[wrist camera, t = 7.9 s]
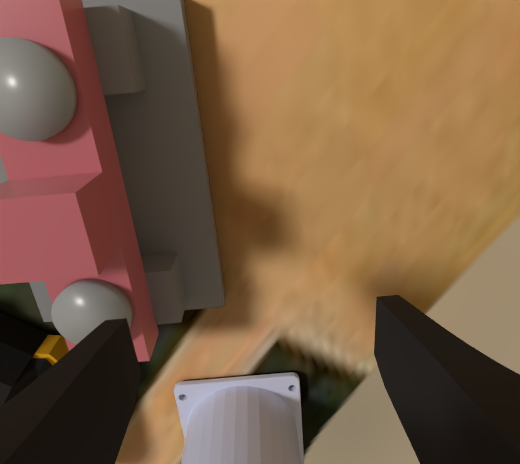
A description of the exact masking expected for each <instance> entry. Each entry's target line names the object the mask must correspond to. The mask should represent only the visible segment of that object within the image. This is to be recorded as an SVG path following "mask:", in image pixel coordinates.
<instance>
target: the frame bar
mask: <svg viewBox="0 0 520 464" xmlns="http://www.w3.org/2000/svg"><path fill="white" fill-rule="evenodd" d="M0 157H1V160H2V162H3V165H4V168H5V171H6V174H7V177H8V179H9V180H8V181H6V182H4V183H2V184H0V284H11V283H22V282H34V281H44V282H45V284H46V287H47V290H48V293H49V296H50V299H51V301H52V304H53V305H52V310H51V315H52V320H53V323H54V325H55V327H56V329H57V330H58V331H59V333H60V334H61V335H62V336H63V337H64V338H65V341H66V344H67V347H68V350H69V351H70V350H71V349H72V348H73V347H75V346H76V345H77V344H78V343H79V342H80V341H81V340H82V339H84V338H85V337H86V336H87V335H88V334H89V333H90V332H92V331H93V330H94V329H95V328H96V327H97V326H99V325H100V324H101V323H102V322H104V321H105V320H112V319H124V318H127V322H128V326H129V329H130V333H131V337H132V341H133V344H134V348H135V352H136V356H137V359H138V362H141V361H150V358H151V355H152V352H153V349H154V346H155V343H156V340H157V337H158V334H159V333H158V329H157V324H156V320H155V316H154V311H153V307H152V302H151V298H150V294H149V289H148V285H147V281H146V276H145V272H144V268H143V263H142V259H141V255H140V250H139V246H138V242H137V237H136V233H135V229H134V224H133V220H132V216H131V211H130V207H129V203H128V198H127V194H126V190H125V185H124V181H123V177H122V172H121V168H120V164H119V159H118V155H117V151H116V146H115V142H114V138H113V133H112V129H111V125H110V120H109V116H108V111H107V107H106V103H105V98H104V94H103V90H102V85H101V81H100V77H99V72H98V68H97V64H96V59H95V55H94V51H93V46H92V42H91V38H90V33H89V29H88V25H87V20H86V16H85V12H84V7H83V3H82V0H0Z"/></svg>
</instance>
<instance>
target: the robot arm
mask: <svg viewBox="0 0 520 464" xmlns="http://www.w3.org/2000/svg"><path fill="white" fill-rule="evenodd" d="M374 354H375V358H376V361H377V364H378V368H379V371H380V374H381V377H382V379H383V382H384V386H385V388H386V390H387V393H388V395H389V397H390V399H391V401H392V404H393V406H394V408H395V410H396V412H397V414H398V417H399V419H400V421H401V423H402V425H403V427H404V429H405V432H406V434H407V436H408V438H409V440H410V442H411V445H412V447H413V449H414V451H415V453H416V455H417V458H418V460H419V462H420V464H520V375H519V374H517V373H515V372H514V371H512V370H510V369H508V368H506V367H504V366H503V365H501V364H499V363H498V362H496V361H494V360H493V359H491V358H489V357H488V356H486V355H484V354H483V353H481V352H480V351H478V350H476V349H475V348H473V347H471V346H470V345H468V344H467V343H465V342H464V341H462V340H461V339H459V338H458V337H456V336H455V335H453V334H452V333H450V332H449V331H447V330H446V329H445V328H443V327H442V326H440V325H439V324H438V323H436V322H435V321H433V320H432V319H431V318H429V317H428V316H427V315H425V314H424V313H422V312H421V311H420V310H418V309H417V308H416V307H414V306H413V305H412V304H410V303H409V302H407V301H406V300H405V299H403V298H402V297H400V296H399V295H393V296H382V297H377V303H376V325H375V347H374ZM140 377H141V371H140V367H139V363H138V359H137V356H136V352H135V348H134V344H133V341H132V337H131V333H130V329H129V326H128V322H127V318H124V319H112V320H105V321H104V322H102V323H101V324H100V325H99V326H97V327H96V328H95V329H94V330H93V331H92V332H90V333H89V334H88V335H87V336H86V337H85V338H84V339H82V340H81V341H80V342H79V343H78V344H77V345H76V346H75V347H73V348H72V349H71V350H70V351H69V352H68V353H67V354H65V355H64V356H63V357H62V358H61V359H60V360H58V361H57V362H56V363H55V364H54V365H53V366H52V367H50V368H49V369H48V370H47V371H45V372H44V373H43V374H42V375H40V376H39V377H38V378H37V379H36V380H34V381H33V382H32V383H31V384H29V385H28V386H27V387H26V388H24V389H23V390H22V391H21V392H19V393H18V394H17V395H16V396H14V397H13V398H12V399H10V400H9V401H8V402H6V403H5V404H4V405H2V406H1V407H0V464H115V461H116V458H117V456H118V453H119V450H120V447H121V444H122V441H123V439H124V436H125V433H126V430H127V427H128V424H129V421H130V418H131V415H132V412H133V409H134V406H135V401H136V397H137V392H138V387H139V382H140ZM291 385H294V386H293V387H290V386H291ZM174 394H175V399H176V403H177V407H178V412H179V416H180V421H181V425H182V429H183V434H184V438H185V444H184V450H183V457H182V463H181V464H304V452H303V434H302V415H301V397H300V380H299V376H298V375H297V374H296V373H293V372H289V373H277V374H265V375H253V376H241V377H230V378H218V379H206V380H194V381H182V382H178V383H176V385H175V387H174ZM182 394H183V395H185V396H182Z"/></svg>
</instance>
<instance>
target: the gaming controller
mask: <svg viewBox="0 0 520 464" xmlns="http://www.w3.org/2000/svg"><path fill="white" fill-rule="evenodd" d="M68 352H69V350H68V347H67V344H66V341H65V339H64V338H63V337H62V336H61V335H49V334H48V333H46V332H43V331H41V330H39V329H37V328H34V327H32V326H30V325H27V324H25V323H23V322H21V321H18V320H16V319H14V318H12V317H9V316H7V315H5V314H3V313H0V407H1V406H2V405H4V404H5V403H6V402H8V401H9V400H10V399H12V398H13V397H14V396H16V395H17V394H18V393H19V392H21V391H22V390H23V389H24V388H26V387H27V386H28V385H29V384H31V383H32V382H33V381H34V380H36V379H37V378H38V377H39V376H40V375H42V374H43V373H44V372H45V371H47V370H48V369H49V368H50V367H52V366H53V365H54V364H55V363H56V362H57V361H58V360H60V359H61V358H62V357H63V356H64V355H65V354H67V353H68Z"/></svg>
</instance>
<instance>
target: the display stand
mask: <svg viewBox="0 0 520 464" xmlns="http://www.w3.org/2000/svg"><path fill="white" fill-rule="evenodd" d="M82 3H83V7H84V12H85V16H86V20H87V25H88V29H89V33H90V38H91V42H92V46H93V51H94V55H95V59H96V64H97V68H98V72H99V77H100V81H101V85H102V90H103V94H104V98H105V103H106V107H107V111H108V116H109V120H110V125H111V129H112V133H113V138H114V142H115V146H116V151H117V155H118V159H119V164H120V168H121V172H122V177H123V181H124V185H125V190H126V194H127V198H128V203H129V207H130V211H131V216H132V220H133V224H134V229H135V233H136V237H137V242H138V246H139V250H140V255H141V259H142V263H143V268H144V272H145V276H146V281H147V285H148V289H149V294H150V298H151V302H152V307H153V311H154V316H155V320H156V324H169V323H181V322H182V318H183V314H184V310H192V309H204V308H215V307H224V301H225V291H224V283H223V276H222V269H221V262H220V255H219V247H218V240H217V233H216V226H215V219H214V212H213V204H212V197H211V190H210V183H209V176H208V168H207V161H206V154H205V147H204V140H203V132H202V125H201V118H200V111H199V104H198V97H197V89H196V82H195V75H194V68H193V61H192V53H191V46H190V39H189V32H188V25H187V17H186V10H185V3H184V0H82ZM8 180H9V179H8V177H7V174H6V171H5V168H4V165H3V162H2V160H1V157H0V184H2V183H4V182H6V181H8ZM29 283H30V286H31V288H32V291H33V294H34V297H35V299H36V302H37V305H38V307H39V310H40V313H41V315H42V318H43V321H44V322H52V321H53V320H52V315H51V310H52V305H53V304H52V301H51V299H50V296H49V293H48V290H47V287H46V284H45V282H44V281H34V282H29Z"/></svg>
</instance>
